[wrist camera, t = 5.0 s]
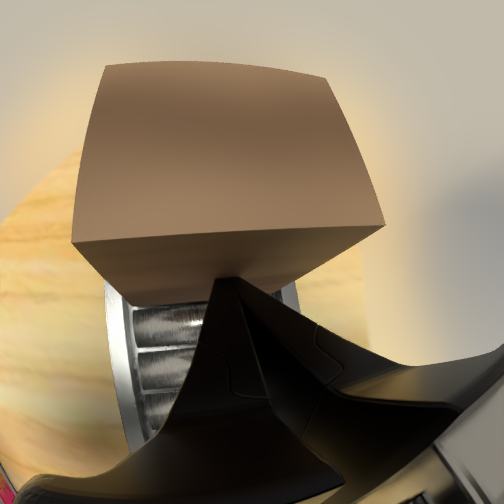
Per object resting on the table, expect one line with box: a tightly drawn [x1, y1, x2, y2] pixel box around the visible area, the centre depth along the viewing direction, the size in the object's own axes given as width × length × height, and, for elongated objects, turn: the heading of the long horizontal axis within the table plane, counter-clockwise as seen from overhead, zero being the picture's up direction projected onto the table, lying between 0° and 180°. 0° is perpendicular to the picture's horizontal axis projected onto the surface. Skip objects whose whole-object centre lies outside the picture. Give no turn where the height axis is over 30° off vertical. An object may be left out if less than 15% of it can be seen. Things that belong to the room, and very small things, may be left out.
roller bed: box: [104, 279, 301, 454], centre depth 12 cm, size 17×9×6 cm, turn 9°
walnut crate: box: [71, 61, 386, 307], centre depth 9 cm, size 5×6×8 cm
